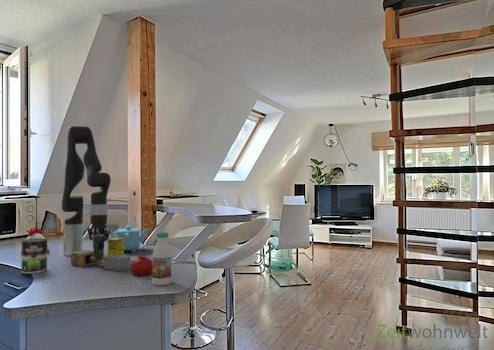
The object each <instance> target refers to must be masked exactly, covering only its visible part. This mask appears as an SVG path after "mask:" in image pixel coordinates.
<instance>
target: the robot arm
mask: <svg viewBox="0 0 494 350" xmlns="http://www.w3.org/2000/svg"><path fill="white" fill-rule="evenodd" d="M66 142H67V147H66V148H67V149H66V153H67V154H66V163H65V172H64V187H63V193H62V199H61V210H62V211H63V212H64V213H73V212H74V213H75V214H74V215H72V216H70V217H67V218H66V219H64V237H63V242H62V243H63V249H62V253H63V255H64V256H66V257H67V256H70V257H71V253H73V252H78V251H83V243H84V242H83V239H84V238H83V233H84V230H83V229H84V228H83V226H84V225H83V223H84V222H83V218H84V215H83V213H84V197H83V196H82V195H71V194H72V193H73V191H74V189H75V188H76V187H77V186H79V184H80V183H81V182H82V180H83V179H84V176H85V175H84V174H85V169H86V183H87V185H88V186H90V187H91V188H100V189H99V190H98V191H94V192H92V193H91V195H90V208H89V209H90V211H89V212H90V219H89V223H90V225H91V227H88V228H87V229H86V231H87V235H88V238H89V240H90V241H92V247H93V248H92V249H93V250H94V237H97V236H98V237H99V250H103V249H105V242H106V241H107V242H108V239H109V236H110V235H111V234H110V231H111V230H112V229H111V228H107V225H106V224H107V223H108V205H107V204H108V203H107V200H108V199H107V197H108V193H109V188H110V185H111V176H110V174H109V173H108V172H101V171H102V168H103V167H102V164H101V162H100V159H99V156H98V153H97V150H96V145H95V141H94V134H93V132H92V129H91V128H90V127H89V126H83V125H82V126H81V125H70V126H69V127H68V130H67V141H66ZM83 144H84V145H86V146H87V147H86V150H85V152H84V153H83V157H82V158H81V157H80V155H79V154H78V151H77V149H76V145H83ZM82 159H83V160H82ZM101 237H102V238H101Z"/></svg>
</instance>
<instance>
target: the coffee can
mask: <svg viewBox="0 0 494 350" xmlns="http://www.w3.org/2000/svg"><path fill="white" fill-rule="evenodd" d="M48 241H49V240H48V239H47V238H45V239H28V240H26V239H24V240H23V239H22V240H21V250H22V256H21V266H20V267H21V273H22V274H25V275H26V274H39V273H42V272H46V271H47V270H48V254H47V243H48Z"/></svg>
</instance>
